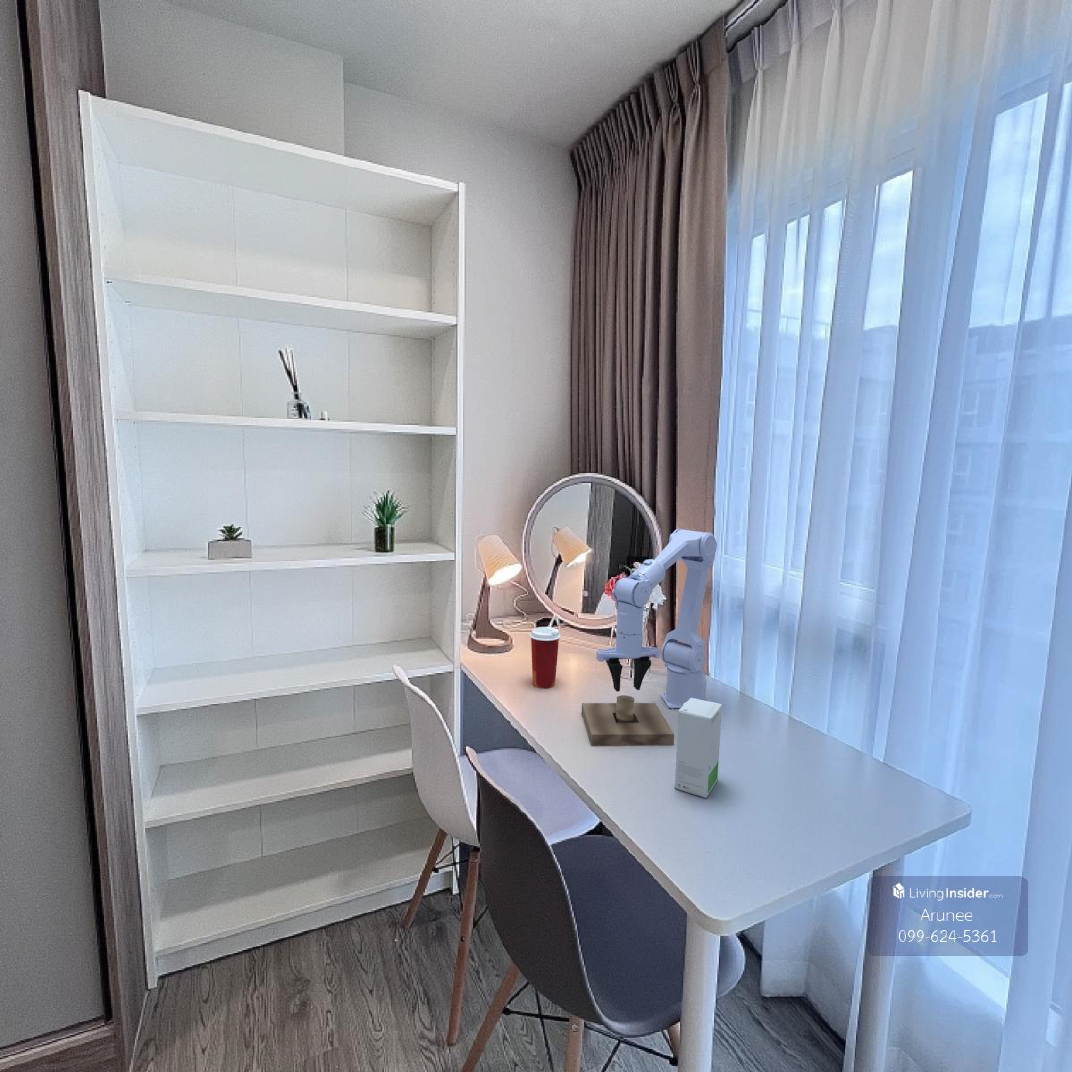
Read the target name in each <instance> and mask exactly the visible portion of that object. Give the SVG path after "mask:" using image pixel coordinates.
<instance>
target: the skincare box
mask: <svg viewBox="0 0 1072 1072" xmlns="http://www.w3.org/2000/svg"><path fill="white" fill-rule="evenodd" d="M722 707H723V704H722V703H719V702H713V701H709V700H705V701H704V700H700V699H695V698H690V699H689V700H688V701H687V702H685V703H684V704H683V706H682V707H681V708H678V712H677V731H676V732H677V733H676V735H677V736H676V753H675V754H676V755H675V759H676V760H675V776H674V777H675V778H674V789H677V790H679V791H683V792H684V793H685V792H686V793H688V794H692V795H694V796H697V797H702V798H706V799H707V798H708V797H709V794H710V793H711V792H712V790H713V788H714V786H715V785H716V783H717V781H718V777H719V762H720V761H719V760H720V745H721V744H720V741H721V740H720V739H721V726H722V723H721V722H722Z"/></svg>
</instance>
